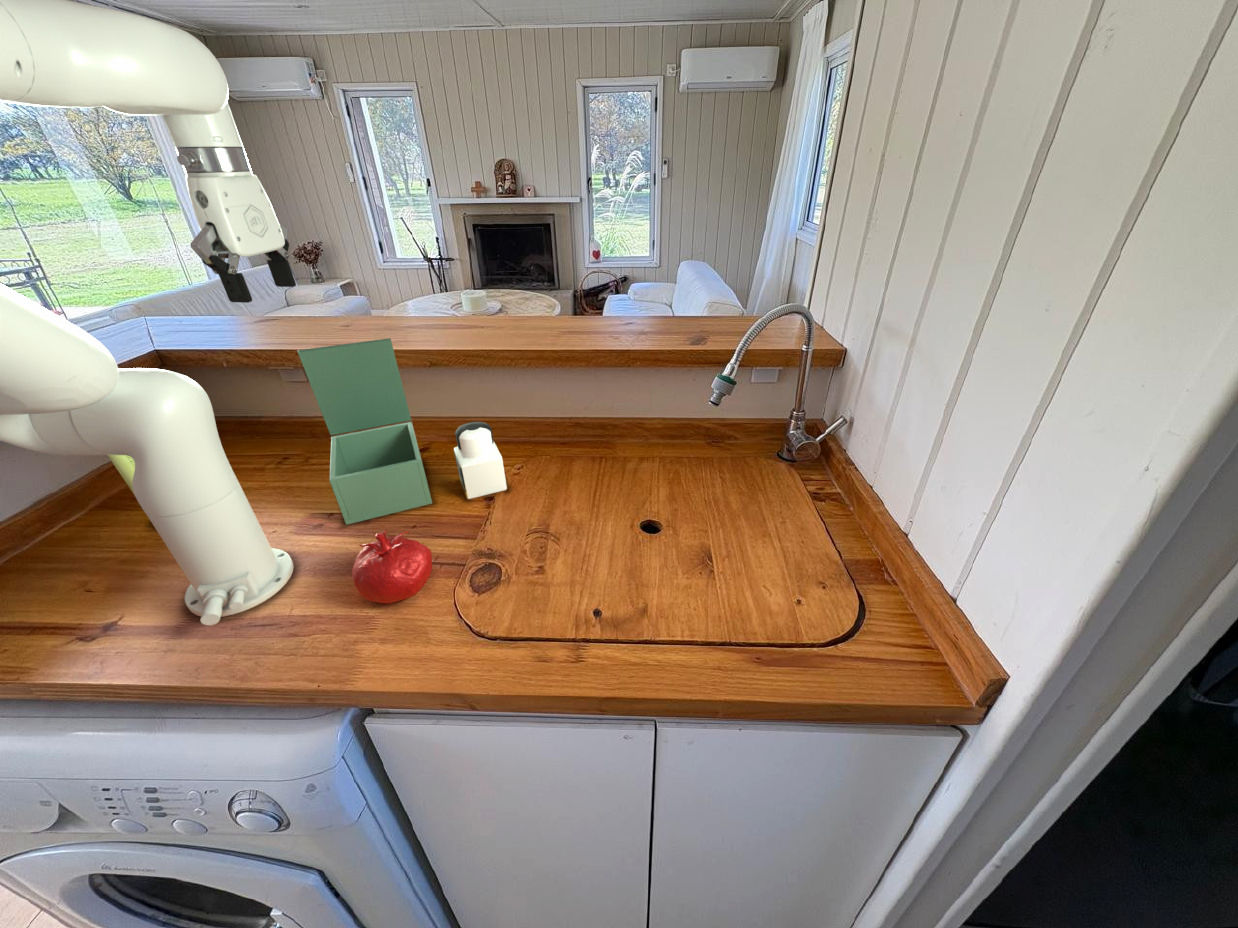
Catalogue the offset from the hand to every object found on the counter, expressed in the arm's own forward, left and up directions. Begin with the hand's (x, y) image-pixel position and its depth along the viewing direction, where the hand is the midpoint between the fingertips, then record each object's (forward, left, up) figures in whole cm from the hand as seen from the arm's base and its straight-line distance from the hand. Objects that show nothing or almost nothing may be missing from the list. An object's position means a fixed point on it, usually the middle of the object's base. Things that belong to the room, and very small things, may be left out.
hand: (265, 293), depth 76 cm
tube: (-3, +24, -34) cm, 41 cm away
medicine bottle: (-16, -25, -34) cm, 45 cm away
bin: (-10, -9, -33) cm, 36 cm away
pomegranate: (-36, -9, -34) cm, 50 cm away
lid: (-4, -9, -16) cm, 19 cm away
